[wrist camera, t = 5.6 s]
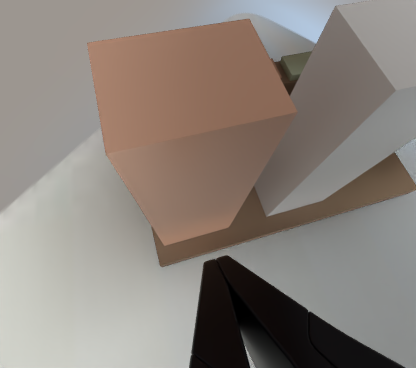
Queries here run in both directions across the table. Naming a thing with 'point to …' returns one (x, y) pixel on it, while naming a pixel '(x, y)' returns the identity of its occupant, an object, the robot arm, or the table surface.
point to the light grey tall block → (346, 105)
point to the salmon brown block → (189, 121)
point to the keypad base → (333, 205)
